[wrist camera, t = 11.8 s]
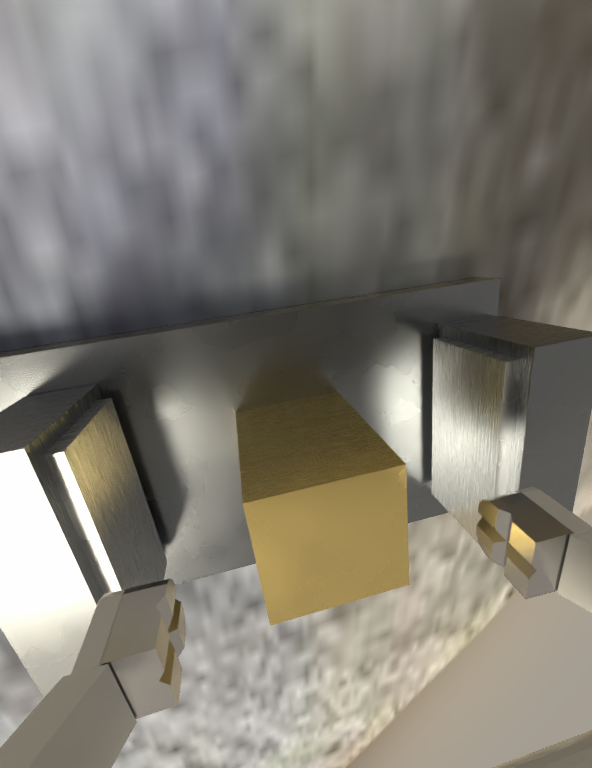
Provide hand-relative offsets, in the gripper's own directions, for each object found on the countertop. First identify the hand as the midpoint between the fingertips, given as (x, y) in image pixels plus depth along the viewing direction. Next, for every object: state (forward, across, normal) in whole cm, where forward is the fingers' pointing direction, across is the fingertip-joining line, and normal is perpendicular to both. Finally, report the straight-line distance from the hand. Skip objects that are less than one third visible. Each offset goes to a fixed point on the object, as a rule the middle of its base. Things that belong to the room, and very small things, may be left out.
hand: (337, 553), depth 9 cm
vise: (+8, +2, +1) cm, 9 cm away
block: (+7, 0, +1) cm, 7 cm away
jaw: (+7, +12, +1) cm, 13 cm away
